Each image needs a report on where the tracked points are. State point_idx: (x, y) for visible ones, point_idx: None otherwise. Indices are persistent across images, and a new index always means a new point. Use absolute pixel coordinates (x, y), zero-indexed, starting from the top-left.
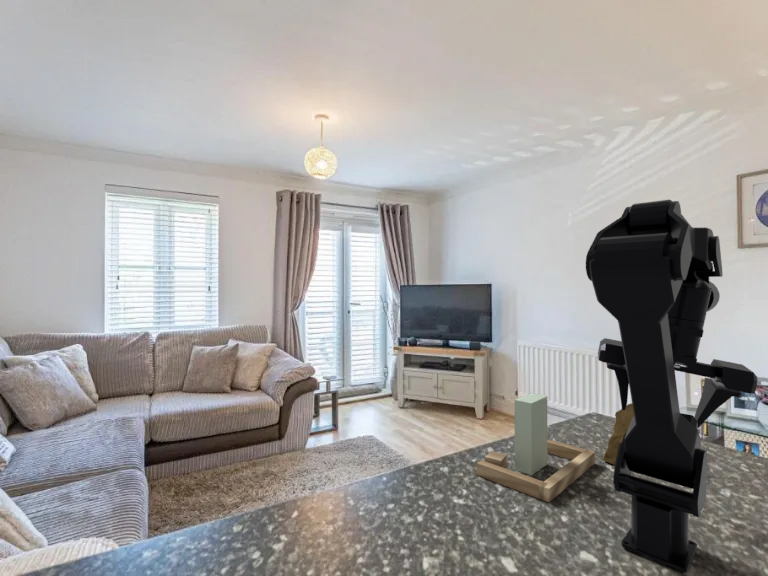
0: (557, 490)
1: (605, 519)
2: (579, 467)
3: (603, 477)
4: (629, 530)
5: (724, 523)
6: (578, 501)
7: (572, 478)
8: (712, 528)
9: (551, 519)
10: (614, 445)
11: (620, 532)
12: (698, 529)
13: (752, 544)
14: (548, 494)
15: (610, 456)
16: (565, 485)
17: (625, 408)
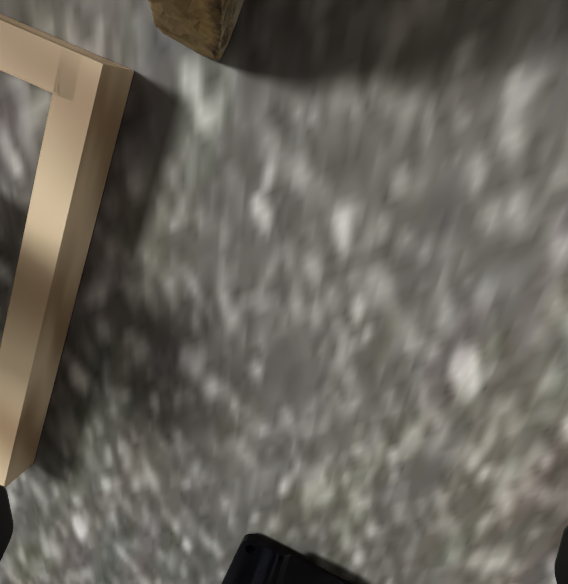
0: (35, 422)
1: (174, 511)
2: (65, 257)
3: (169, 219)
4: (223, 582)
5: (525, 454)
6: (103, 433)
7: (63, 315)
8: (468, 493)
9: (54, 538)
10: (175, 9)
11: (208, 561)
12: (421, 507)
13: (556, 552)
14: (15, 476)
15: (182, 38)
16: (52, 368)
17: (2, 553)
